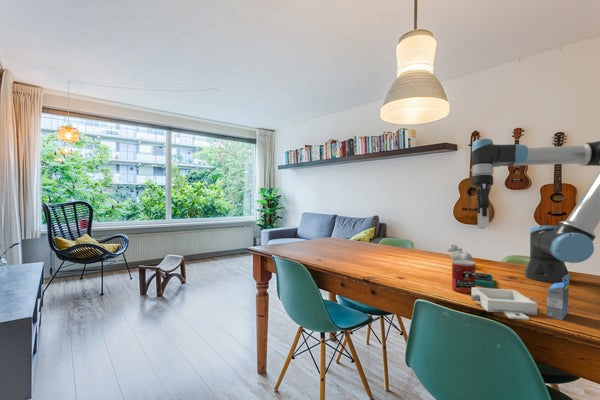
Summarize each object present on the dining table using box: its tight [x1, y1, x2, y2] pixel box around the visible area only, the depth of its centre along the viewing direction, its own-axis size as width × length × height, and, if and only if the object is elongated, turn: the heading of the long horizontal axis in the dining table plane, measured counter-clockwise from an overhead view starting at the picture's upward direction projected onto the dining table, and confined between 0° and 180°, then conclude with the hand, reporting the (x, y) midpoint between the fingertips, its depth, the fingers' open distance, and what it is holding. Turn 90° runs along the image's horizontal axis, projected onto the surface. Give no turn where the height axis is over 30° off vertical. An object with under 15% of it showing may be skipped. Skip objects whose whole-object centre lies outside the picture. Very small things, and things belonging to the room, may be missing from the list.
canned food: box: [451, 260, 476, 295], centre depth 111 cm, size 8×8×11 cm
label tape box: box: [545, 273, 570, 321], centre depth 89 cm, size 9×4×12 cm, turn 131°
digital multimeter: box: [475, 272, 495, 289], centre depth 123 cm, size 7×15×3 cm, turn 149°
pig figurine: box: [446, 243, 473, 266], centre depth 154 cm, size 5×13×11 cm, turn 28°
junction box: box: [470, 286, 538, 321], centre depth 96 cm, size 17×22×4 cm
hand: (482, 227), depth 120 cm, fingers open, 13 cm apart
